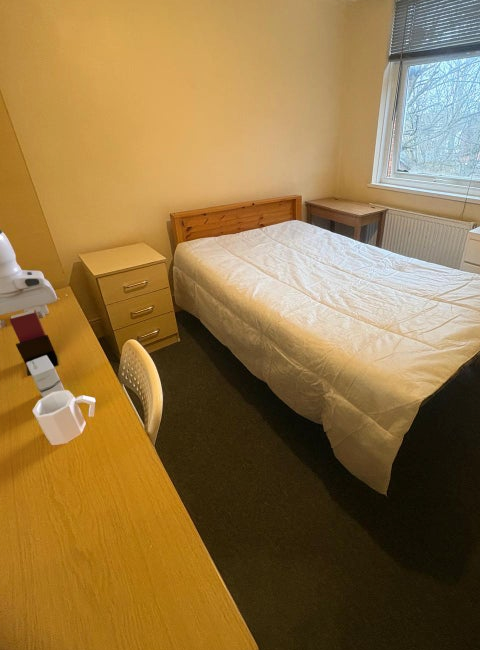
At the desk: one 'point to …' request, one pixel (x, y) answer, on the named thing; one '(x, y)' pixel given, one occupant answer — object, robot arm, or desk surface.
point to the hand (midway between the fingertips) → (23, 322)
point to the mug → (62, 416)
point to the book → (27, 326)
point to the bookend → (37, 350)
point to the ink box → (45, 375)
